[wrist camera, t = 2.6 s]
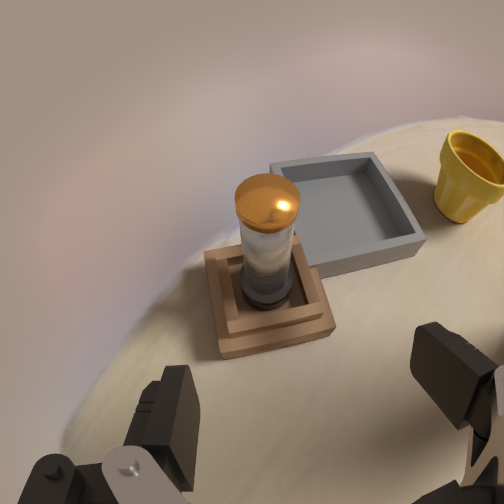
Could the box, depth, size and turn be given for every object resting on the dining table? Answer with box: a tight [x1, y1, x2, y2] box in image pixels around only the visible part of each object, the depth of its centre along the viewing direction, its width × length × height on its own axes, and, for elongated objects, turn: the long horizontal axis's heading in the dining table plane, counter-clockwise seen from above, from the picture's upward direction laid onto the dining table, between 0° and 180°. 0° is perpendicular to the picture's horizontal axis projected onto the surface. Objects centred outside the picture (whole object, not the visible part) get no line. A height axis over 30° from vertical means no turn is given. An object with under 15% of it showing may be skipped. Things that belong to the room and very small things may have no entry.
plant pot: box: [434, 130, 504, 223], centre depth 31 cm, size 10×10×10 cm
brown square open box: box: [204, 235, 336, 360], centre depth 27 cm, size 10×10×4 cm
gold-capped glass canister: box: [235, 174, 300, 311], centre depth 21 cm, size 4×4×12 cm
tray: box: [270, 152, 427, 279], centre depth 33 cm, size 14×14×4 cm
